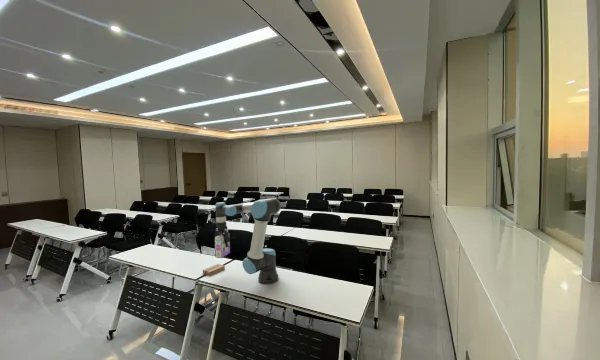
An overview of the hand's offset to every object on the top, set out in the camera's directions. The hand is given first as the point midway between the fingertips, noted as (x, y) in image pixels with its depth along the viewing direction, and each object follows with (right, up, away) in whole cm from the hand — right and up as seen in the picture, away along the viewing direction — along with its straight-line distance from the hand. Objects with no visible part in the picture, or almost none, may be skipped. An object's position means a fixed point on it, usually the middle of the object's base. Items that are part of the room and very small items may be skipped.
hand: (222, 250), depth 200 cm
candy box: (0, -4, 0) cm, 4 cm away
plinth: (-10, -20, +8) cm, 23 cm away
